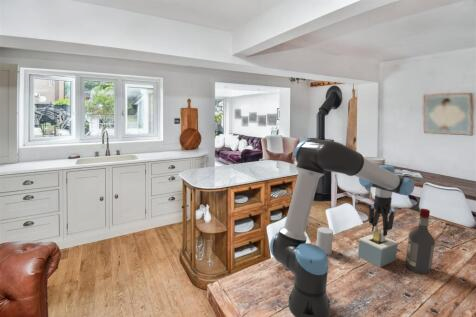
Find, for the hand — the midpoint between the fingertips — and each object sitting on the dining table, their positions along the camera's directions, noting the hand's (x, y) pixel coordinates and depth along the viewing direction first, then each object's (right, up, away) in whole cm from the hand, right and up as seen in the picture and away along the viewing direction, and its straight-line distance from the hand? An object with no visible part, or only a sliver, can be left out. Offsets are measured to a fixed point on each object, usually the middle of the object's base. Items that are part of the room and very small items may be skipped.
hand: (378, 239), depth 136 cm
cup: (-26, -9, +8) cm, 29 cm away
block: (0, -2, 0) cm, 2 cm away
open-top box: (0, -10, +2) cm, 11 cm away
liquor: (+15, -12, -7) cm, 21 cm away
